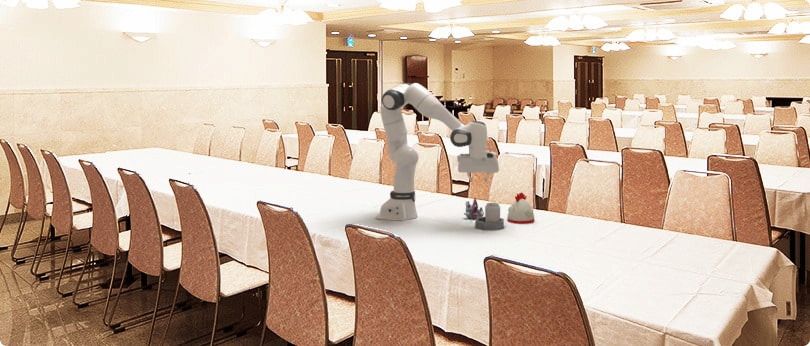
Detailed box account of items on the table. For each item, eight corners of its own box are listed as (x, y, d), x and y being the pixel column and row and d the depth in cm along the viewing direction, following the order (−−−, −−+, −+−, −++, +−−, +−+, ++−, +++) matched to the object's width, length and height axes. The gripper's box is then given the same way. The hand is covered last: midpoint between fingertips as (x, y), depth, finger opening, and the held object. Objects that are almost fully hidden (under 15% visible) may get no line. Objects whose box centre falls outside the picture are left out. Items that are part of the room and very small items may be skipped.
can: (489, 224, 333) (489, 201, 331) (502, 226, 329) (502, 202, 327) (482, 227, 327) (482, 204, 325) (495, 229, 323) (496, 205, 321)
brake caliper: (484, 216, 341) (471, 197, 342) (468, 227, 345) (455, 209, 346) (489, 211, 351) (476, 193, 352) (474, 223, 355) (461, 205, 357)
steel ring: (475, 229, 322) (475, 222, 322) (476, 223, 336) (476, 216, 335) (503, 230, 320) (503, 223, 319) (503, 223, 334) (503, 216, 333)
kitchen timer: (501, 221, 340) (501, 192, 338) (519, 216, 349) (519, 189, 347) (522, 225, 330) (522, 196, 328) (539, 221, 339) (540, 192, 336)
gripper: (456, 154, 322) (457, 182, 324) (498, 154, 318) (498, 182, 321) (457, 152, 328) (458, 180, 330) (499, 152, 325) (498, 180, 327)
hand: (478, 181), depth 325 cm, fingers open, 6 cm apart
